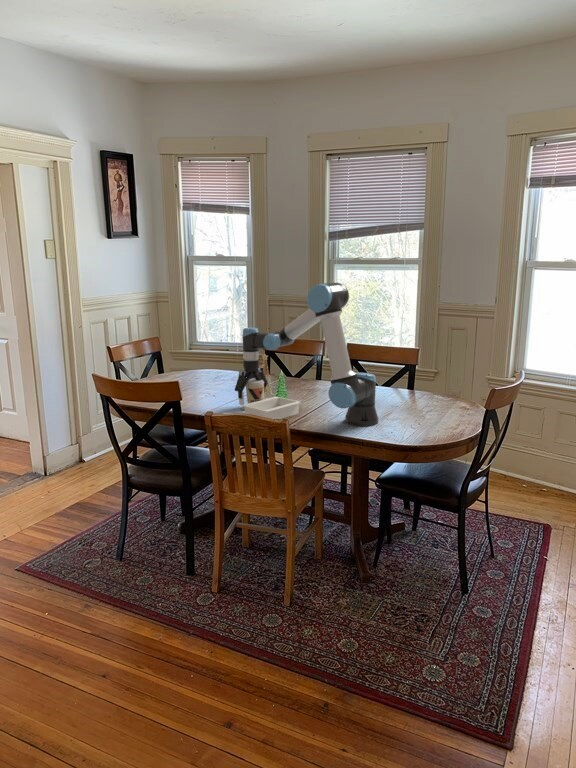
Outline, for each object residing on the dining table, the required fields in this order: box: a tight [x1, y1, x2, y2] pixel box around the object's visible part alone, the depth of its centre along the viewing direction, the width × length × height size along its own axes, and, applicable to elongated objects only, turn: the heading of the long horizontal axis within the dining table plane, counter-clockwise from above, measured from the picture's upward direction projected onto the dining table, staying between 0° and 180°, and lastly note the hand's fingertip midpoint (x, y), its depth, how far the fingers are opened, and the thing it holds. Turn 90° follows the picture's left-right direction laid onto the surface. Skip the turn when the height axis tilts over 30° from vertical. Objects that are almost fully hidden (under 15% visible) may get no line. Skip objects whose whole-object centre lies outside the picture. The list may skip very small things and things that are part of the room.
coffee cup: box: [245, 378, 265, 404], centre depth 283 cm, size 9×9×12 cm
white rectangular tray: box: [241, 396, 303, 420], centre depth 271 cm, size 23×17×6 cm
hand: (251, 402), depth 282 cm, fingers open, 13 cm apart
